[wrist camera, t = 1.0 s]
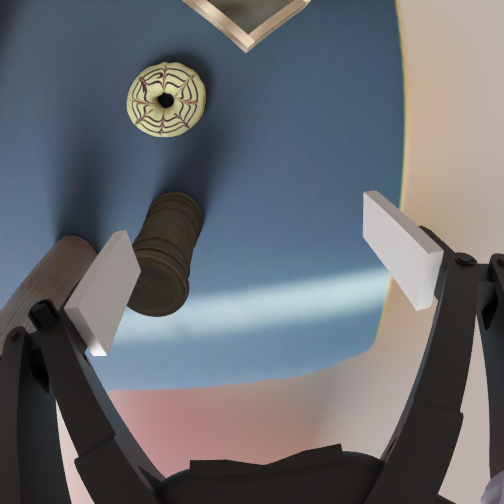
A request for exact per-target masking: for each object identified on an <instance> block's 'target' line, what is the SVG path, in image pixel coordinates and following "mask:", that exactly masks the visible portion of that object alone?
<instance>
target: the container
mask: <svg viewBox="0 0 504 504" xmlns="http://www.w3.org/2000/svg"><path fill="white" fill-rule="evenodd" d="M202 227H203V215H202V211H201V209H200V207H199V205H198V204H197V203H196V201H195V200H194V199H193V198H192V197H190V196H189V195H187V194H185V193H181V192H169V193H166V194H163V195H161V196H159V197H158V198H157V199H156V200H154V202H153V203H152V204H151V206H150V207H149V210H148V212H147V215H146V219H145V221H144V223H143V227H142V229H141V231H140V233H139V234H138V236H137V237H136V239H135V241H134V243H133V244H132V248H133V251H134V254H135V256H136V259H137V262H138V264H139V267H140V269H141V272H140V275H139V277H138V279H137V282H136V284H135V286H134V289H133V291H132V293H131V296H130V298H129V301H128V303H127V305H126V306H128V307H129V308H130V309H132V310H134V311H135V312H138V313H140V314H143V315H146V316H152V317H162V316H167V315H170V314H172V313H174V312H176V311H177V310H179V309H180V308H181V307H182V305H183V304H184V303H185V301H186V299H187V297H188V294H189V282H188V278H189V275H190V264H191V258H192V253H193V249H194V247H195V245H196V242H197V239H198V237H199V235H200V232H201V230H202Z"/></svg>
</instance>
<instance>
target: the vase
mask: <svg viewBox="0 0 504 504" xmlns="http://www.w3.org/2000/svg"><path fill="white" fill-rule="evenodd" d="M97 256H98V255H97V253H96V251H95V249H94V248H93V247H92V246H91V244H89V243H88V242H87V241H86V240H84V239H83V238H80V237H78V236H73V235H68V236H65V237H63V238H61V239H60V240H59V241H58V242H57V243H56V244H55V245H54V246H53V247H52V248H51V249H50V250H49V251H48V253H47V254H46V255H45V256H44V257H43V258H42V259H41V261H40V262H39V263H38V264H37V265H36V266H35V268H34V269H33V270H32V271H31V272H30V274H29V275H28V276H27V277H26V279H25V280H24V281H23V282H22V283H21V285H20V286H19V287H18V289H17V290H16V291H15V292H14V294H13V295H12V296H11V298H10V299H9V300H8V302H7V303H6V304H5V306H4V307H3V308H2V310H1V311H0V361H1V356H2V351H3V346H4V341H5V338H6V336H7V335H8V333H9V332H10V331H11V330H12V329H13V328H16V327H19V326H23V327H24V328H25V329H26V331H27V332H28V334H29V333H32V332H35V331H37V330H36V328H35V326H34V325H33V323H32V322H31V320H30V319H29V317H28V312H29V310H30V308H31V307H32V306H33V305H34V304H36V303H37V302H38V301H40V300H43V299H51V301H52V302H53V304H54V306H55V307H56V309H57V311H59V309H60V308H61V306H62V304H63V303H64V301H65V299H67V296H68V295H69V294H70V291H71V290H72V288H73V287H74V285H76V284H77V283H78V282H79V281H80V280H81V279H82V278H83V277H84V275H85V274H86V272H87V271H88V269H89V268H90V266H91V265H92V263H93V262H94V260H95V259H96V257H97Z"/></svg>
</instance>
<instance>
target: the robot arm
mask: <svg viewBox="0 0 504 504" xmlns="http://www.w3.org/2000/svg"><path fill="white" fill-rule="evenodd" d="M363 237H364V239H365V240H366V241H367V243H368V244H369V245H370V247H371V248H372V249H373V250H374V252H375V253H376V254H377V256H378V257H379V258H380V260H381V261H382V263H383V264H384V265H385V267H386V268H387V269H388V271H389V272H390V273H391V275H392V276H393V278H394V279H395V280H396V282H397V283H398V285H399V286H400V288H401V289H402V290H403V292H404V293H405V295H406V296H407V298H408V299H409V300H410V302H411V303H412V305H413V306H414V308H415V309H416V311H417V310H421V309H424V308H428V307H431V304H432V300H433V297H434V296H435V297H436V298H437V300H438V305H437V308H436V311H435V315H434V318H433V324H432V328H431V332H430V335H429V339H428V342H427V345H426V349H425V352H424V355H423V358H422V361H421V364H420V367H419V370H418V373H417V376H416V379H415V382H414V385H413V387H412V390H411V393H410V395H409V398H408V400H407V403H406V405H405V408H404V410H403V413H402V415H401V417H400V420H399V422H398V424H397V426H396V429H395V431H394V433H393V435H392V437H391V439H390V441H389V443H388V445H387V447H386V449H385V451H384V452H383V454H382V456H381V458H380V459H377V458H375V457H373V456H370V455H367V454H363V453H358V452H350V451H342V448H341V444H336V445H331V446H327V447H322V448H316V449H311V450H306V451H302V452H300V453H298V454H295V455H292V456H289V457H287V458H284V459H281V460H279V461H276V462H273V463H270V464H267V465H258V464H251V463H244V462H237V461H231V460H190V469H186V470H183V471H181V472H178V473H176V474H174V475H171V476H170V477H168V478H167V479H166V478H165V477H164V476H163V475H162V474H161V473H160V472H159V471H158V470H157V469H156V467H155V466H154V465H153V464H152V462H151V461H150V459H149V458H148V457H147V455H146V454H145V453H144V451H143V450H142V448H141V447H140V446H139V444H138V443H137V441H136V440H135V438H134V437H133V435H132V434H131V432H130V431H129V429H128V428H127V426H126V425H125V423H124V421H123V420H122V418H121V417H120V415H119V413H118V412H117V410H116V409H115V407H114V405H113V404H112V402H111V400H110V399H109V397H108V395H107V393H106V391H105V390H104V388H103V386H102V384H101V382H100V380H99V379H98V377H97V375H96V373H95V371H94V369H93V367H92V365H91V363H90V361H89V359H88V357H87V356H86V355H85V351H86V349H87V347H88V348H89V350H90V351H91V353H92V354H93V356H107V355H108V353H109V350H110V347H111V344H112V342H113V339H114V336H115V334H116V331H117V328H118V326H119V323H120V321H121V318H122V315H123V313H124V310H125V308H126V305H127V303H128V301H129V298H130V296H131V293H132V291H133V289H134V286H135V284H136V282H137V279H138V277H139V275H140V272H141V269H140V267H139V264H138V262H137V259H136V256H135V254H134V251H133V248H132V245H131V243H130V240H129V237H128V234H127V231H126V230H122V231H118V232H114V233H113V235H112V236H111V237H110V239H109V240H108V242H107V243H106V244H105V246H104V247H103V249H102V250H101V251H100V253H99V254H98V256H97V257H96V259H95V260H94V262H93V263H92V265H91V266H90V268H89V269H88V271H87V272H86V274H85V275H84V277H83V278H82V279H81V280H80V281H79V282H78V283H77V284H76V285H74V287H73V288H72V290H71V291H70V294H69V295H68V296H67V299H65V301H64V303H63V304H62V306H61V308H60V309H59V311H57V309H56V307H55V306H54V304H53V302H52V301H51V299H43V300H40V301H38V302H37V303H36V304H34V305H33V306H32V307H31V308H30V310H29V312H28V317H29V319H30V320H31V322H32V323H33V325H34V326H35V328H36V330H37V331H35V332H32V333H29V334H28V332H27V331H26V329H25V328H24V327H23V326H19V327H16V328H13V329H12V330H11V331H10V332H9V333H8V335H7V336H6V338H5V341H4V346H3V351H2V356H1V361H0V504H72V503H71V499H70V495H69V491H68V486H67V482H66V477H65V472H64V466H63V461H62V455H61V448H60V441H59V433H58V423H57V414H56V401H57V403H58V406H59V409H60V411H61V414H62V417H63V420H64V422H65V425H66V427H67V430H68V432H69V435H70V437H71V440H72V442H73V444H74V446H75V449H76V451H77V453H78V456H79V457H78V458H76V459H75V461H74V462H75V465H76V469H77V471H78V473H79V475H80V477H81V479H82V481H83V483H84V485H85V487H86V489H87V491H88V492H89V494H90V496H91V498H92V500H93V502H94V503H95V504H455V503H454V502H452V501H450V500H448V499H446V498H444V497H442V496H440V495H439V494H438V492H439V489H440V487H441V485H442V482H443V480H444V477H445V475H446V472H447V469H448V467H449V464H450V461H451V458H452V455H453V452H454V449H455V446H456V443H457V439H458V436H459V433H460V430H461V426H462V422H463V413H461V412H460V408H461V403H462V399H463V394H464V390H465V386H466V381H467V376H468V370H469V364H470V358H471V352H472V345H473V336H474V328H475V317H476V315H477V320H478V324H479V329H480V334H481V340H482V346H483V353H484V360H485V368H486V376H487V386H488V399H489V417H490V418H489V420H490V448H489V450H490V451H489V456H490V458H489V459H490V462H489V463H490V464H489V465H490V478H491V480H490V481H489V483H488V485H487V486H486V489H485V492H484V494H483V496H482V497H481V504H504V254H498V253H497V254H493V255H492V256H491V258H490V262H489V264H477V261H476V260H475V259H474V258H473V257H472V256H470V255H468V254H465V253H460V252H459V253H455V252H453V250H452V249H450V248H449V247H448V246H447V245H446V244H445V243H444V242H443V241H441V239H440V238H439V237H436V235H435V234H434V233H433V232H432V231H431V230H429V229H427V228H425V227H423V226H417V225H416V224H415V223H414V222H413V221H411V220H410V219H409V218H408V217H407V216H406V215H405V214H404V213H402V212H401V211H400V210H399V209H398V208H397V207H395V206H394V205H393V204H392V203H391V202H389V201H388V200H387V199H386V198H385V197H383V196H382V195H381V194H380V193H378V192H377V191H367V192H364V205H363Z"/></svg>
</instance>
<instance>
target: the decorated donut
mask: <svg viewBox="0 0 504 504" xmlns="http://www.w3.org/2000/svg"><path fill="white" fill-rule="evenodd" d="M163 92H165V93H169V94H171V95H172V96H173V98H174V103H173V105H171V107H168V108H164V107H162V106H161V105H160V104H159V102H158V98H159V96H160V95H161V94H163ZM205 102H206V91H205V86H204V84H203V82H202V81H201V80H200V78H199V75H198V74H197V73H196V72H195V71H194V70H192V69H190V68H188V67H186V66H185V65H183V64H180V63H177V62H175V63H167V62H163V63H161V64H158V65H154V66H150V67H148V68H146V69H145V70H144V71H142V72H141V73H140V74H139V76H137V78H136V79H135V80H134V82H133V83H132V86H131V88H130V90H129V93H128V98H127V111H128V114H129V116H130V118H131V120H132V122H133V123H134V124H135V125H136V126H137V127H138V128H139V129H140V130H142V131H143V132H146V133H148V134H150V135H152V136H157V137H173V136H177V135H180V134H182V133H184V132H186V131H188V130H189V129H190V128H192V127H193V126H194V125H195V124H196V123H197V122H198V121H199V119H200V118H201V116H202V114H203V111H204V107H205Z"/></svg>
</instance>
